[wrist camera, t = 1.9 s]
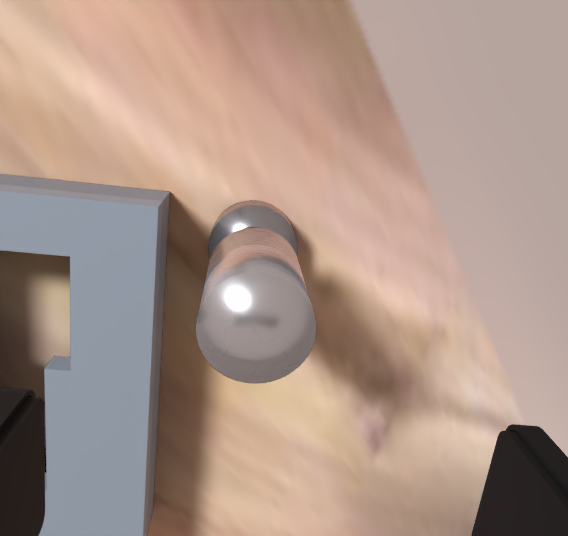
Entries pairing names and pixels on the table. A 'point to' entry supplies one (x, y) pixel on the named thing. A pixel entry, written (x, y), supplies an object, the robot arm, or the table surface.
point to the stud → (254, 297)
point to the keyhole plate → (98, 347)
